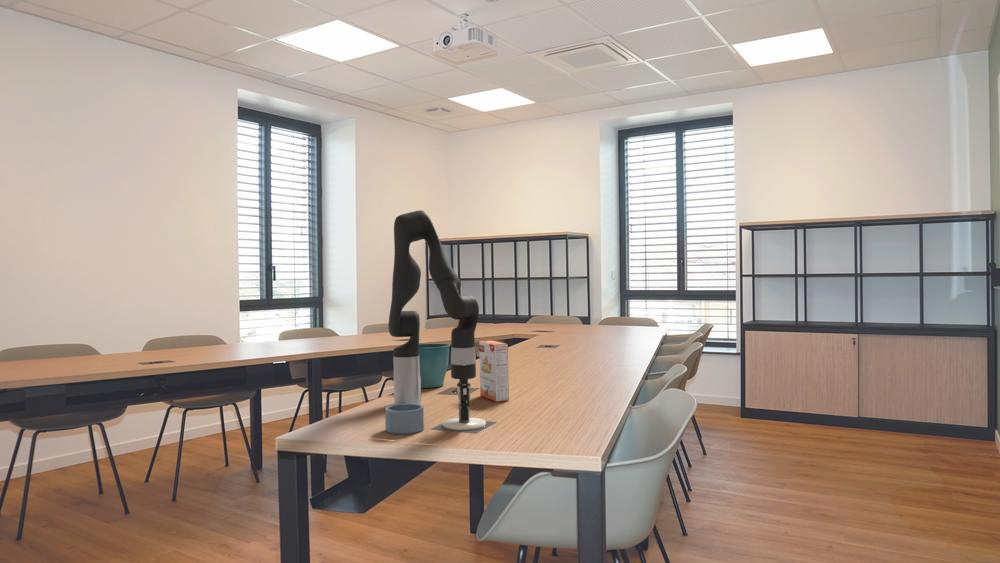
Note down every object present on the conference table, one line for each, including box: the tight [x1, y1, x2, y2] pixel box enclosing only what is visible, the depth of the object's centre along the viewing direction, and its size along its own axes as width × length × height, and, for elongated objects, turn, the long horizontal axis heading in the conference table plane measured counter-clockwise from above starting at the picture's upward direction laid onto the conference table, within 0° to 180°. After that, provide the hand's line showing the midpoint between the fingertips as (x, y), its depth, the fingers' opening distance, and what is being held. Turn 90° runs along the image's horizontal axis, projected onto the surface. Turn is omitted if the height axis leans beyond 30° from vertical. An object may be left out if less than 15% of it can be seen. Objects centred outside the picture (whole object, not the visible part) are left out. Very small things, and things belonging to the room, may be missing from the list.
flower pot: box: [419, 342, 451, 389], centre depth 268 cm, size 18×18×17 cm
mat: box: [430, 420, 498, 434], centre depth 194 cm, size 15×15×1 cm
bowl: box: [384, 404, 425, 435], centre depth 189 cm, size 11×11×7 cm
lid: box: [442, 404, 487, 431], centre depth 194 cm, size 13×13×6 cm
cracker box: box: [478, 340, 510, 403], centre depth 238 cm, size 14×6×21 cm, turn 25°
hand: (464, 418), depth 194 cm, fingers open, 5 cm apart
